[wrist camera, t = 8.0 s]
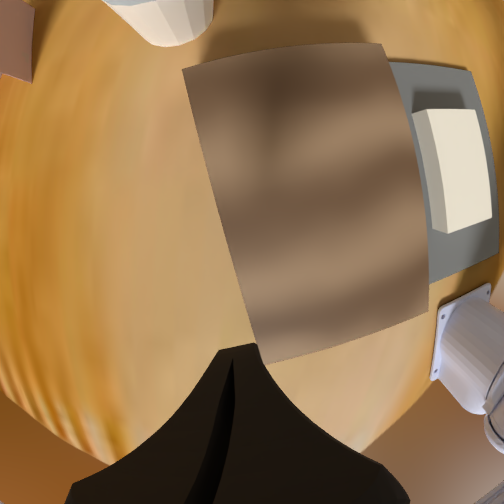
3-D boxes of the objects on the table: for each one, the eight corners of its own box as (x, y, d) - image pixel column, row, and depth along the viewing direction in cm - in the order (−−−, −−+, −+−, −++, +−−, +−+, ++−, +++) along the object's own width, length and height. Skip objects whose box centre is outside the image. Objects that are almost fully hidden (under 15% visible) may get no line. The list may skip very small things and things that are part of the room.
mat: (494, 251, 20) (498, 252, 19) (406, 288, 20) (410, 291, 19) (467, 72, 15) (470, 71, 15) (363, 64, 16) (366, 61, 15)
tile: (447, 233, 16) (432, 228, 18) (492, 217, 16) (477, 213, 18) (426, 109, 14) (411, 113, 16) (475, 109, 14) (460, 112, 16)
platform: (401, 290, 20) (428, 311, 16) (259, 333, 20) (263, 365, 16) (357, 64, 16) (381, 43, 12) (193, 91, 16) (181, 69, 12)
